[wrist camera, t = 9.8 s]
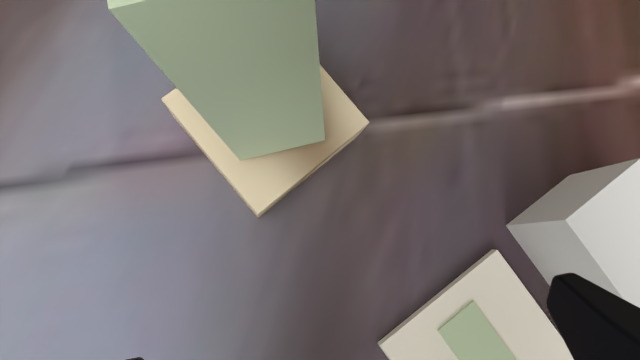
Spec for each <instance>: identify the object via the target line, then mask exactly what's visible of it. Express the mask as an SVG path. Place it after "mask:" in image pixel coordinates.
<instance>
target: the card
mask: <svg viewBox="0 0 640 360" xmlns="http://www.w3.org/2000/svg"><path fill="white" fill-rule="evenodd" d="M377 344H378V345H379V346H380V348H381V349H382V351H383V352H384V353H385V355H386V356H387V358H388V359H389V360H574V359H573V357H572V355H571V353H570V351H569V350H568V348H567V346H566V344H565V342H564V340H563V338H562V337H561V336H560V334H559V333H558V331H557V330H556V329H555V327H554V326H553V325H552V323H551V322H550V321H549V319H548V318H547V316H546V315H545V314H544V312H543V311H542V310H541V308H540V307H539V306H538V304H537V303H536V301H535V300H534V299H533V297H532V296H531V295H530V293H529V292H528V291H527V289H526V288H525V287H524V285H523V284H522V282H521V281H520V280H519V278H518V277H517V276H516V274H515V273H514V272H513V270H512V269H511V267H510V266H509V265H508V263H507V262H506V261H505V259H504V258H503V257H502V255H501V254H500V253H499V251H498V250H491V251H489V252H488V253H487V254H486V255H484V256H483V257H482V258H481V259H480V260H478V261H477V262H476V263H475V264H473V265H472V266H471V267H470V268H468V269H467V270H466V271H465V272H464V273H462V274H461V275H460V276H459V277H457V278H456V279H455V280H454V281H452V282H451V283H450V284H449V285H448V286H446V287H445V288H444V289H443V290H441V291H440V292H439V293H438V294H436V295H435V296H434V297H433V298H432V299H430V300H429V301H428V302H427V303H425V304H424V305H423V306H422V307H420V308H419V309H418V310H417V311H416V312H414V313H413V314H412V315H411V316H409V317H408V318H407V319H406V320H404V321H403V322H402V323H401V324H400V325H398V326H397V327H396V328H395V329H393V330H392V331H391V332H390V333H388V334H387V335H386V336H385V337H384V338H382V339H381V340H380V341H379V342H377Z"/></svg>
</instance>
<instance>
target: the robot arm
mask: <svg viewBox="0 0 640 360" xmlns="http://www.w3.org/2000/svg"><path fill="white" fill-rule="evenodd" d="M547 308H548V310H549V313H550V315H551V317H552V318H553V320H554V322H555V324H556V326H557V328H558V330H559V332H560V334H561V336H562V338H563V340H564V342H565V344H566V346H567V348H568V350H569V351H570V353H571V355H572V357H573V359H574V360H640V308H639V307H637V306H635V305H633V304H632V303H630V302H628V301H626V300H624V299H622V298H620V297H619V296H617V295H615V294H613V293H611V292H609V291H607V290H605V289H604V288H602V287H600V286H598V285H596V284H594V283H592V282H591V281H589V280H587V279H585V278H583V277H581V276H579V275H577V274H575V273H564V274H559V275H556V276H554V277H553V278H552V281H551V285H550V289H549V293H548V296H547ZM127 360H144V359H143V358H141V357H137V358H132V359H127Z"/></svg>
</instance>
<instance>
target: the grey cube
mask: <svg viewBox="0 0 640 360" xmlns="http://www.w3.org/2000/svg"><path fill="white" fill-rule="evenodd" d="M506 227H507V228H508V229H509V231H510V232H511V233H512V235H513V236H514V238H515V239H516V240H517V242H518V243H519V244H520V246H521V247H522V249H523V250H524V251H525V253H526V254H527V255H528V257H529V258H530V260H531V261H532V262H533V264H534V265H535V266H536V268H537V269H538V271H539V272H540V273H541V275H542V276H543V277H544V279H545V280H546V282H547V283H548V284H549V286H550V285H551V281H552V278H553V277H554V276H556V275H559V274H564V273H575V274H577V275H579V276H581V277H583V278H585V279H587V280H589V281H591V282H592V283H594V284H596V285H598V286H600V287H602V288H604V289H605V290H607V291H609V292H611V293H613V294H615V295H617V296H619V297H620V298H622V299H624V300H626V301H628V302H630V303H632V304H633V305H635V306H637V307H639V308H640V158H639V159H634V160H630V161H626V162H622V163H618V164H614V165H609V166H605V167H601V168H597V169H593V170H589V171H584V172H580V173H576V174H572V175H569V176H568V177H566V178H565V179H564V180H563V181H561V182H560V183H559V184H558V185H556V186H555V187H554V188H552V189H551V190H550V191H549V192H547V193H546V194H545V195H544V196H542V197H541V198H540V199H539V200H537V201H536V202H535V203H534V204H532V205H531V206H530V207H528V208H527V209H526V210H525V211H523V212H522V213H521V214H520V215H518V216H517V217H516V218H515V219H513V220H512V221H511V222H509V223H508V224H507V225H506Z"/></svg>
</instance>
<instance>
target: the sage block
mask: <svg viewBox="0 0 640 360" xmlns="http://www.w3.org/2000/svg"><path fill="white" fill-rule="evenodd" d="M107 3H108V9H109V10H110V11H111V13H112V14H113V15H114V16H115V17H116V18H117V20H118V21H119V22H120V23H121V24H122V25H123V26H124V28H125V29H126V30H127V31H128V32H129V33H130V35H131V36H132V37H133V38H134V39H135V40H136V41H137V43H138V44H139V45H140V46H141V47H142V48H143V49H144V51H145V52H146V53H147V54H148V55H149V56H150V58H151V59H152V60H153V61H154V62H155V63H156V64H157V66H158V67H159V68H160V69H161V70H162V71H163V73H164V74H165V75H166V76H167V77H168V78H169V79H170V81H171V82H172V83H173V84H174V85H175V86H176V88H177V89H178V90H179V91H180V92H181V93H182V94H183V96H184V97H185V98H186V99H187V100H188V101H189V102H190V104H191V105H192V106H193V107H194V108H195V109H196V111H197V112H198V113H199V114H200V115H201V116H202V117H203V119H204V120H205V121H206V122H207V123H208V124H209V126H210V127H211V128H212V129H213V130H214V131H215V132H216V134H217V135H218V136H219V137H220V138H221V139H222V141H223V142H224V143H225V144H226V145H227V146H228V147H229V149H230V150H231V151H232V152H233V153H234V154H235V155H236V157H237V158H238V159H239V160H240V161H241V160H245V159H249V158H253V157H257V156H261V155H266V154H270V153H274V152H278V151H282V150H287V149H291V148H295V147H299V146H303V145H308V144H312V143H316V142H320V141H324V140H325V132H324V118H323V105H322V91H321V77H320V64H319V50H318V36H317V23H316V9H315V0H107Z"/></svg>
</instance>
